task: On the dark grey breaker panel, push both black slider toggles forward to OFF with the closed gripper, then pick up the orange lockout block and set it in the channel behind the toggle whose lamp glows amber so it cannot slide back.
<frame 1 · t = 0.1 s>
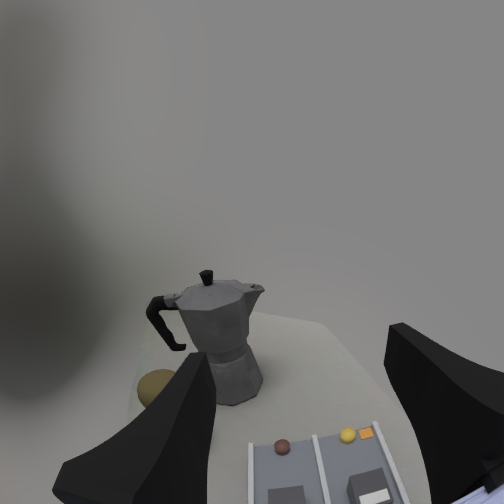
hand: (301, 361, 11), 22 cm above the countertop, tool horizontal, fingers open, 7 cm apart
breaker panel: (323, 491, 21), on the countertop
cork: (186, 444, 29), on the countertop
toggle A: (368, 495, 17), point 3 cm above the countertop, slide at 0.0 cm, touching breaker panel
coffeepot: (224, 387, 40), on the countertop
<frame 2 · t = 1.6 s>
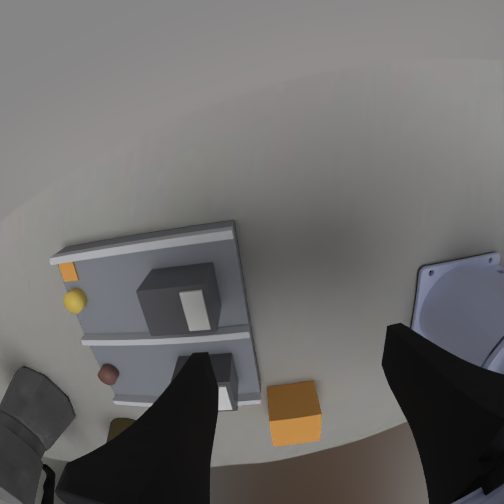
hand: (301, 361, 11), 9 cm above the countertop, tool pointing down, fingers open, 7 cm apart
toggle B: (206, 384, 19), point 3 cm above the countertop, slide at 0.0 cm, touching breaker panel
lockout block: (291, 397, 24), on the countertop
breaker panel: (163, 323, 21), on the countertop
cork: (135, 432, 27), on the countertop
toggle A: (181, 299, 17), point 3 cm above the countertop, slide at 0.0 cm, touching breaker panel
coffeepot: (49, 400, 26), on the countertop
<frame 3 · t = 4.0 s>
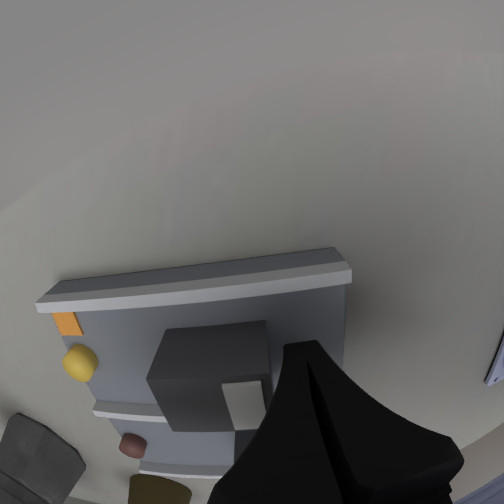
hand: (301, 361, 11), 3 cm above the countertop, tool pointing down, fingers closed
toggle B: (276, 462, 13), point 3 cm above the countertop, slide at 0.0 cm, touching breaker panel
breaker panel: (211, 387, 14), on the countertop
cork: (161, 486, 20), on the countertop
toggle A: (217, 380, 10), point 3 cm above the countertop, slide at 1.7 cm, touching breaker panel, gripper
coffeepot: (53, 448, 19), on the countertop
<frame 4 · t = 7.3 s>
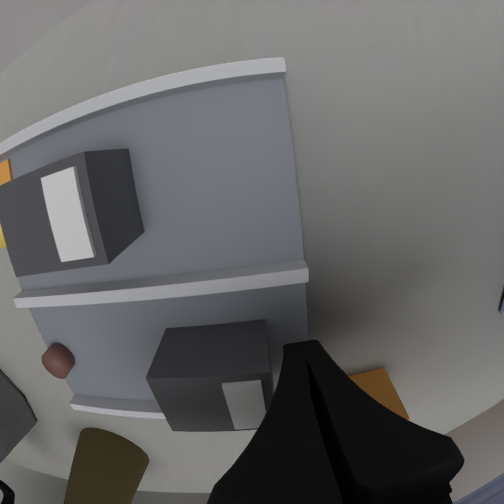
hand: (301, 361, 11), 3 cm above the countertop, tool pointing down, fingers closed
toggle B: (217, 379, 10), point 3 cm above the countertop, slide at 0.1 cm, touching breaker panel, gripper
lockout block: (347, 397, 15), on the countertop
breaker panel: (144, 270, 12), on the countertop
cork: (114, 448, 18), on the countertop
toggle A: (66, 211, 8), point 3 cm above the countertop, slide at 3.9 cm, touching breaker panel
coffeepot: (6, 398, 17), on the countertop
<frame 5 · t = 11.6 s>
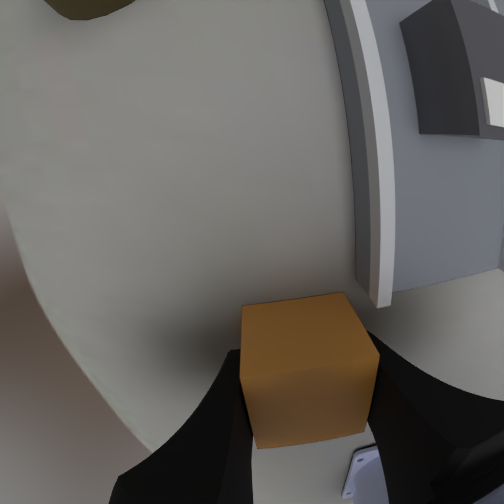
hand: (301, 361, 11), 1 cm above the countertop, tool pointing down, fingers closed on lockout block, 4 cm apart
toggle B: (473, 74, 5), point 3 cm above the countertop, slide at 3.9 cm, touching breaker panel
lockout block: (296, 339, 12), on the countertop, touching gripper
breaker panel: (484, 116, 9), on the countertop
when the fingers open (4 cm above the countertop, at t = 14.5 s): lockout block drops 1 cm, resting on breaker panel.
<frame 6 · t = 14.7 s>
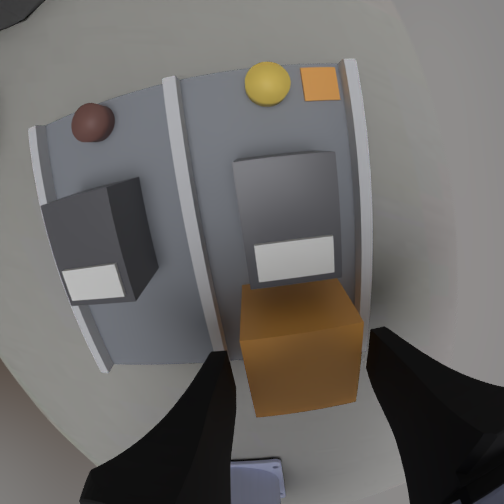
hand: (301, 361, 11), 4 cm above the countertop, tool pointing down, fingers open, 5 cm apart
toggle B: (101, 240, 10), point 3 cm above the countertop, slide at 3.9 cm, touching breaker panel
lockout block: (292, 317, 13), point 1 cm above the countertop, touching breaker panel
breaker panel: (203, 228, 13), on the countertop
toggle A: (286, 212, 10), point 3 cm above the countertop, slide at 3.9 cm, touching breaker panel
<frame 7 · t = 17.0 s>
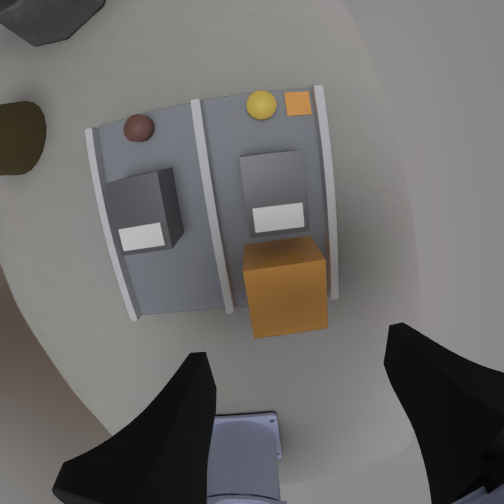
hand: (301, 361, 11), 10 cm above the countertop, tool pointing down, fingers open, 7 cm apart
toggle B: (146, 210, 15), point 3 cm above the countertop, slide at 3.9 cm, touching breaker panel
lockout block: (280, 270, 18), point 1 cm above the countertop, touching breaker panel
breaker panel: (216, 205, 19), on the countertop
cork: (22, 137, 16), on the countertop
toggle A: (273, 190, 15), point 3 cm above the countertop, slide at 3.9 cm, touching breaker panel
coffeepot: (57, 6, 13), on the countertop
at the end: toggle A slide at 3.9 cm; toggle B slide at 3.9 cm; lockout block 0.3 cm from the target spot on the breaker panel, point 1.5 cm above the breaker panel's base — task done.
